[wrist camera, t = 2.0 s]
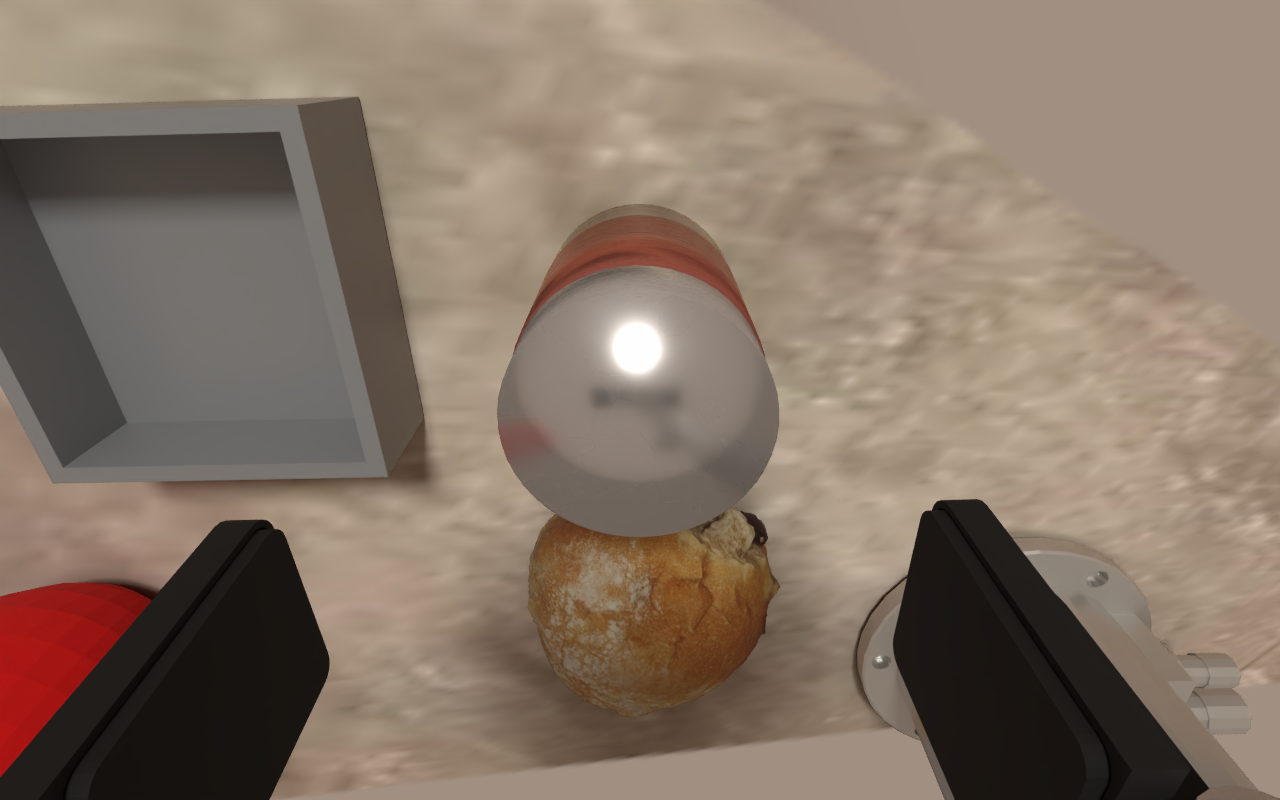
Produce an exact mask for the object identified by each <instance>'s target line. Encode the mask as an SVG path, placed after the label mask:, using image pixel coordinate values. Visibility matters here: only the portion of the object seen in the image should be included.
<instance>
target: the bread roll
mask: <svg viewBox="0 0 1280 800" xmlns="http://www.w3.org/2000/svg"><path fill="white" fill-rule="evenodd" d="M767 539H768V536H767V532H766V529H765V526H764V524H763V522H762V521H761V520H759V519H757V517H756V515H754V514H751V513H745V512H743V511H736V510H734V509H733V508H732V507H730V508H729V509H727V510H726V511H725V512H723V513H722V514H720V515H718V516H717V517H715V518H713V519H711V520H709V521H707V522H705V523H703V524H701V525H698V526H696V527H693V528H691V529H687V530H684V531H680V532H677V533H672V534H667V535H661V536H651V537H625V536H617V535H610V534H605V533H601V532H597V531H593V530H590V529H587V528H585V527H582V526H579V525H576V524H574V523H572V522H570V521H568V520H566V519H564V518H562V517H561V516H559V515H558V514H555V515H554V516H553V517H552V518H551V519H550V520H549V521H548V522H547V523H546V524H545V526H544V527H543V528H542V529H541V531H540V534H539V537H538V540H537V542H536V545H535V547H534V550H533V552H532V554H531V556H530V561H531V562H530V565H529V571H530V575H529V579H528V582H529V604H528V609H529V611H530V613H531V615H532V617H533V621H534V622H535V623H536V624H537V627H538V631H539V635H540V639H541V643H542V645H543V648H544V650H545V653H546V655H547V658H548V660H549V662H550V665H551V667H552V669H553V671H554V673H555V674H556V675H557V676H558V678H559V679H560V680H561V681H562V682H563V684H565V685H566V686H567V687H568V688H569V689H570V690H572V691H573V692H574V693H576V694H577V695H578V696H579V697H581V698H582V699H583V700H585V701H587V702H589V703H591V704H593V705H595V706H598V707H601V708H604V709H615V710H616V712H617V713H618V714H620V715H621V716H624V717H629V718H636V717H639V716H642V715H645V714H647V713H650V712H652V711H654V710H657V709H659V708H671V707H674V706H677V705H679V704H682V703H686V702H689V701H691V700H694V699H695V698H697V697H699V696H702V695H703V694H705V693H707V692H709V691H711V690H713V689H715V688H716V687H717V686H719V685H720V684H721V683H723V682H724V681H725V680H726V679H727V678H728V677H729V676H730V675H731V674H732V673H733V672H734V671H735V670H736V669H737V668H738V667H739V666H741V665H742V664H743V663H744V662H745V660H746V659H747V657H748V656H749V655H750V653H751V652H752V650H753V649H754V648H755V646H756V644H757V642H758V639H759V638H760V636H761V634H764V633H765V623H766V616H767V608H768V604H769V603H770V600H771V599H772V598H773V596H774V595H775V594H776V593H777V591H778V589H779V587H780V586H779V584H778V582H777V580H776V579H775V577H774V576H773V575H772V572H771V569H770V567H769V563H768V559H767V551H766V547H765V545H764V544H765V543H766V541H767ZM711 560H712V561H711Z"/></svg>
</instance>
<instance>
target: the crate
mask: <svg viewBox="0 0 1280 800" xmlns="http://www.w3.org/2000/svg"><path fill="white" fill-rule="evenodd" d="M0 385H1V387H2V389H3V391H4V393H5V395H6V397H7V398H8V400H9V402H10V404H11V406H12V408H13V410H14V412H15V413H16V415H17V417H18V419H19V421H20V423H21V425H22V426H23V428H24V430H25V432H26V434H27V436H28V438H29V440H30V441H31V443H32V445H33V447H34V449H35V451H36V453H37V455H38V456H39V458H40V460H41V462H42V464H43V466H44V468H45V470H46V471H47V473H48V475H49V477H50V479H51V481H52V483H103V482H157V481H211V480H265V479H319V478H372V477H389V475H390V473H391V472H392V470H393V468H394V467H395V465H396V463H397V462H398V460H399V458H400V457H401V455H402V454H403V452H404V450H405V449H406V447H407V445H408V444H409V442H410V440H411V439H412V437H413V435H414V434H415V432H416V430H417V429H418V427H419V426H420V424H421V422H422V421H423V419H424V415H423V410H422V405H421V400H420V396H419V391H418V386H417V381H416V376H415V371H414V366H413V361H412V356H411V351H410V346H409V342H408V337H407V332H406V327H405V322H404V317H403V312H402V307H401V302H400V297H399V292H398V288H397V283H396V278H395V273H394V268H393V263H392V258H391V253H390V248H389V243H388V238H387V234H386V229H385V224H384V219H383V214H382V209H381V204H380V199H379V194H378V189H377V184H376V180H375V175H374V170H373V165H372V160H371V155H370V150H369V145H368V140H367V135H366V131H365V126H364V121H363V116H362V111H361V106H360V101H359V97H333V98H296V99H259V100H222V101H185V102H148V103H111V104H74V105H37V106H0Z"/></svg>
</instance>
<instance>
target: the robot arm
mask: <svg viewBox="0 0 1280 800" xmlns="http://www.w3.org/2000/svg"><path fill="white" fill-rule="evenodd" d="M857 664H858V672H859V675H860V678H861V682H862V685H863V688H864V691H865V693H866V696H867V698H868V700H869V702H870V704H871V706H872V708H873V709H874V710H875V711H876V712H877V713H878V714H879V716H880V717H881V718H882V719H883V720H884V721H885V722H887V723H888V724H889V725H891V726H892V727H894V728H895V729H897V730H898V731H900V732H902V733H904V734H906V735H908V736H910V737H912V738H915V739H917V740H920V741H921V742H922V745H923V747H924V750H925V752H926V755H927V757H928V760H929V762H930V764H931V767H932V769H933V772H934V774H935V776H936V779H937V782H938V784H939V787H940V789H941V791H942V794H943V796H944V798H945V800H1280V799H1279V798H1277V797H1274V796H1271V795H1269V794H1266V793H1264V792H1261V791H1259V790H1258V789H1257V788H1256V787H1255V785H1254V784H1253V783H1252V782H1251V781H1250V780H1249V778H1248V777H1247V776H1246V775H1245V773H1244V772H1243V771H1242V770H1241V769H1240V767H1239V766H1238V765H1237V764H1236V763H1235V762H1234V760H1233V759H1232V758H1231V757H1230V756H1229V754H1228V753H1227V752H1226V751H1225V750H1224V748H1223V747H1222V746H1221V745H1220V744H1219V743H1218V741H1217V740H1216V739H1215V738H1214V737H1213V735H1212V734H1246V732H1247V731H1248V730H1249V729H1250V728H1251V715H1250V712H1249V708H1248V706H1247V704H1246V703H1245V701H1244V700H1243V699H1242V697H1241V696H1240V695H1239V694H1238V693H1237V692H1236V691H1234V690H1233V689H1232V688H1235V687H1236V686H1237V685H1239V683H1240V678H1241V675H1240V672H1239V668H1238V666H1237V665H1236V663H1235V662H1234V660H1233V659H1232V658H1231V657H1229V656H1228V655H1226V654H1224V653H1188V654H1187V655H1175V654H1174V653H1173V652H1171V651H1169V650H1167V649H1166V648H1165V647H1164V646H1163V645H1162V644H1161V642H1160V641H1159V640H1158V639H1157V638H1156V637H1155V636H1154V635H1153V633H1152V632H1151V613H1150V610H1149V607H1148V604H1147V601H1146V598H1145V596H1144V595H1143V593H1142V592H1141V590H1140V589H1139V588H1138V586H1137V585H1136V584H1135V582H1134V581H1133V580H1132V579H1131V578H1130V577H1129V576H1128V575H1127V574H1126V573H1125V572H1124V571H1123V570H1122V569H1121V568H1120V567H1119V566H1118V565H1117V564H1116V563H1115V562H1114V561H1113V560H1111V559H1109V558H1108V557H1106V556H1104V555H1103V554H1101V553H1099V552H1098V551H1096V550H1094V549H1091V548H1088V547H1085V546H1082V545H1079V544H1076V543H1073V542H1070V541H1063V540H1056V539H1049V538H1012V537H1011V536H1010V535H1009V533H1008V532H1007V531H1006V529H1005V528H1004V527H1003V526H1002V524H1001V523H1000V522H999V520H998V519H997V518H996V517H995V515H994V514H993V513H992V511H991V510H990V509H989V507H988V506H987V505H986V504H985V503H984V502H983V501H981V500H978V499H970V500H940V501H937V502H936V503H935V505H934V506H933V509H932V511H925V512H924V513H923V514H922V516H921V519H920V524H919V528H918V532H917V537H916V541H915V545H914V550H913V554H912V558H911V563H910V567H909V571H908V576H907V578H906V579H905V580H904V581H903V582H902V583H900V584H899V585H898V586H897V587H896V588H895V589H894V590H892V591H891V592H890V593H889V594H888V595H887V596H886V597H885V598H884V599H883V601H882V602H881V603H880V604H879V606H878V607H877V608H876V609H875V611H874V612H873V613H872V614H871V616H870V618H869V620H868V622H867V624H866V626H865V628H864V630H863V632H862V634H861V638H860V642H859V646H858V650H857ZM328 672H329V655H328V651H327V649H326V646H325V643H324V640H323V638H322V635H321V632H320V630H319V627H318V624H317V621H316V619H315V616H314V613H313V610H312V608H311V605H310V602H309V600H308V597H307V594H306V591H305V589H304V586H303V583H302V581H301V578H300V575H299V572H298V570H297V567H296V564H295V561H294V559H293V556H292V553H291V551H290V548H289V545H288V542H287V540H286V537H285V535H284V533H283V532H282V531H281V530H278V529H274V527H273V526H272V524H271V523H270V522H269V521H267V520H231V521H223V522H220V523H219V524H218V525H217V526H215V527H214V528H213V530H212V531H211V532H210V533H209V534H208V535H207V537H206V538H205V539H204V540H203V541H202V542H201V544H200V545H199V546H198V547H197V548H196V549H195V551H194V552H193V553H192V554H191V555H190V556H189V558H188V559H187V560H186V561H185V562H184V563H183V565H182V566H181V567H180V568H179V569H178V570H177V572H176V573H175V574H174V575H173V576H172V577H171V579H170V580H169V581H168V582H167V583H166V584H165V586H164V587H163V588H162V589H161V590H160V591H159V593H158V594H157V595H156V596H155V597H154V598H153V600H152V601H151V602H150V603H149V604H148V605H147V607H146V608H145V609H144V610H143V611H142V612H141V614H140V615H139V616H138V617H137V618H136V619H135V621H134V622H133V623H132V624H131V625H130V626H129V628H128V629H127V630H126V631H125V632H124V633H123V635H122V636H121V637H120V638H119V639H118V640H117V642H116V643H115V644H114V645H113V646H112V647H111V649H110V650H109V651H108V652H107V653H106V654H105V656H104V657H103V658H102V659H101V660H100V661H99V663H98V664H97V665H96V666H95V667H94V668H93V670H92V671H91V672H90V673H89V674H88V675H87V677H86V678H85V679H84V680H83V681H82V682H81V684H80V685H79V686H78V687H77V688H76V689H75V691H74V692H73V693H72V694H71V695H70V696H69V698H68V699H67V700H66V701H65V702H64V703H63V705H62V706H61V707H60V708H59V709H58V710H57V712H56V713H55V714H54V715H53V716H52V717H51V719H50V720H49V721H48V722H47V723H46V724H45V726H44V727H43V728H42V729H41V730H40V731H39V733H38V734H37V735H36V736H35V737H34V738H33V740H32V741H31V742H30V743H29V744H28V745H27V747H26V748H25V749H24V750H23V751H22V752H21V754H20V755H19V756H18V757H17V758H16V759H15V761H14V762H13V763H12V764H11V765H10V766H9V768H8V769H7V770H6V771H5V772H4V773H3V775H2V776H1V777H0V800H269V799H270V797H271V795H272V793H273V791H274V789H275V787H276V785H277V783H278V780H279V778H280V776H281V774H282V772H283V770H284V768H285V766H286V764H287V761H288V759H289V757H290V755H291V753H292V751H293V749H294V747H295V745H296V743H297V740H298V738H299V736H300V734H301V732H302V730H303V728H304V726H305V724H306V722H307V719H308V717H309V715H310V713H311V711H312V709H313V707H314V705H315V703H316V701H317V698H318V696H319V694H320V692H321V690H322V688H323V686H324V684H325V682H326V679H327V676H328Z"/></svg>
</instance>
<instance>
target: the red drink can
mask: <svg viewBox="0 0 1280 800" xmlns="http://www.w3.org/2000/svg"><path fill="white" fill-rule="evenodd" d="M497 417H498V430H499V434H500V439H501V443H502V447H503V449H504V452H505V455H506V457H507V460H508V462H509V463H510V465H511V467H512V469H513V471H514V473H515V474H516V476H517V477H518V478H519V480H520V481H521V482H522V484H523V485H524V487H525V488H526V489H527V490H528V491H529V492H530V493H531V494H532V495H533V496H534V497H535V498H536V499H537V500H538V501H540V502H541V503H542V504H543V505H545V506H546V507H547V508H548V509H550V510H551V511H553V512H554V513H556V514H558V515H559V516H561V517H562V518H564V519H566V520H568V521H570V522H572V523H574V524H576V525H579V526H582V527H585V528H587V529H590V530H593V531H597V532H601V533H605V534H610V535H617V536H625V537H651V536H661V535H667V534H672V533H677V532H680V531H684V530H687V529H691V528H693V527H696V526H698V525H701V524H703V523H705V522H707V521H709V520H711V519H713V518H715V517H717V516H718V515H720V514H722V513H723V512H725V511H726V510H727V509H729V508H730V507H732V506H733V505H734V504H735V503H737V502H738V501H739V500H740V499H741V498H742V497H743V496H744V495H745V494H746V493H747V492H748V491H749V490H750V489H751V488H752V486H753V485H754V484H755V483H756V482H757V480H758V479H759V477H760V476H761V474H762V473H763V471H764V469H765V468H766V466H767V463H768V461H769V459H770V457H771V455H772V452H773V449H774V446H775V443H776V439H777V433H778V427H779V403H778V396H777V390H776V387H775V384H774V380H773V377H772V374H771V372H770V369H769V367H768V364H767V362H766V359H765V355H764V352H763V348H762V345H761V342H760V339H759V337H758V334H757V332H756V329H755V327H754V325H753V322H752V320H751V317H750V315H749V313H748V310H747V308H746V305H745V303H744V300H743V298H742V296H741V293H740V291H739V288H738V286H737V284H736V281H735V279H734V277H733V274H732V272H731V270H730V268H729V266H728V264H727V263H726V261H725V259H724V257H723V255H722V253H721V250H720V249H719V247H718V246H717V244H716V243H715V241H714V240H713V239H712V238H711V237H710V235H709V234H708V233H707V232H706V231H705V230H704V229H703V228H702V227H700V226H699V225H698V224H697V223H696V222H694V221H693V220H691V219H690V218H688V217H686V216H685V215H682V214H680V213H678V212H676V211H674V210H671V209H667V208H664V207H660V206H654V205H644V204H634V205H624V206H620V207H615V208H612V209H609V210H606V211H604V212H601V213H599V214H597V215H595V216H593V217H592V218H590V219H588V220H587V221H586V222H584V223H583V224H581V225H580V226H579V227H578V228H577V229H576V230H575V231H574V232H573V233H572V234H571V235H570V236H569V237H568V238H567V240H566V241H565V242H564V244H563V245H562V247H561V249H560V250H559V252H558V254H557V256H556V258H555V260H554V261H553V263H552V265H551V267H550V268H549V270H548V272H547V274H546V277H545V279H544V281H543V283H542V286H541V288H540V290H539V292H538V295H537V297H536V299H535V301H534V304H533V306H532V308H531V310H530V313H529V315H528V317H527V319H526V322H525V324H524V326H523V328H522V331H521V333H520V336H519V338H518V341H517V343H516V345H515V349H514V353H513V357H512V359H511V361H510V363H509V366H508V368H507V371H506V373H505V376H504V378H503V381H502V385H501V389H500V393H499V398H498V410H497Z"/></svg>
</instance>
